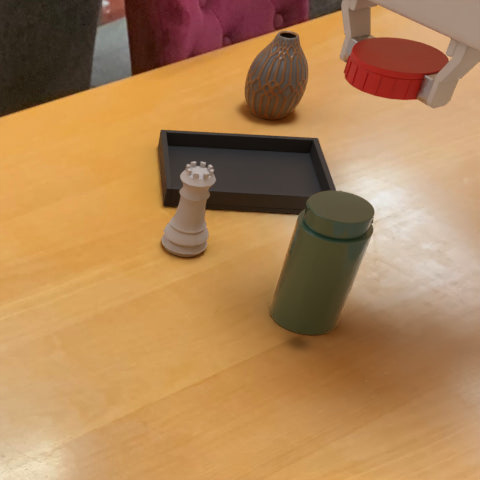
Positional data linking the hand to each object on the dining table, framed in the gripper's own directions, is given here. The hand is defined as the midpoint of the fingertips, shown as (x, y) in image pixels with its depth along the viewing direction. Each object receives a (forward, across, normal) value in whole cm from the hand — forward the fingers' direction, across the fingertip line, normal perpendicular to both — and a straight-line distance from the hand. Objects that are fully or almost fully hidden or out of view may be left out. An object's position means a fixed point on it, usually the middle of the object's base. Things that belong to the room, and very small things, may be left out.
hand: (391, 82), depth 64 cm
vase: (+20, -35, +23) cm, 46 cm away
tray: (+20, -23, +10) cm, 32 cm away
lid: (-2, 0, 0) cm, 2 cm away
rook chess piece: (+20, -15, -4) cm, 25 cm away
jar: (+20, -1, 0) cm, 20 cm away
